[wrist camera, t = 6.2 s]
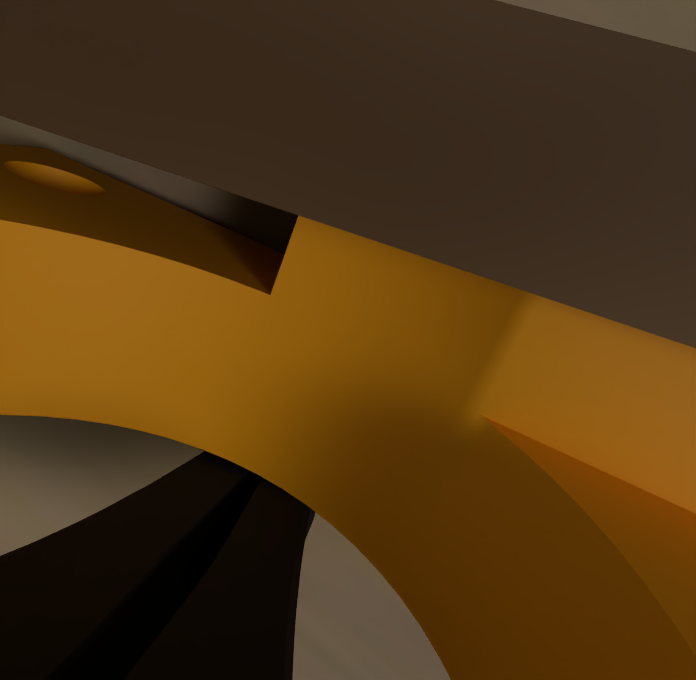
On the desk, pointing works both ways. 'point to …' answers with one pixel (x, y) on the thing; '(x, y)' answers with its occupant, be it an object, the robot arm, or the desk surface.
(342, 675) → the desk surface
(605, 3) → the desk surface
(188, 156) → the rail
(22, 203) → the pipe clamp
